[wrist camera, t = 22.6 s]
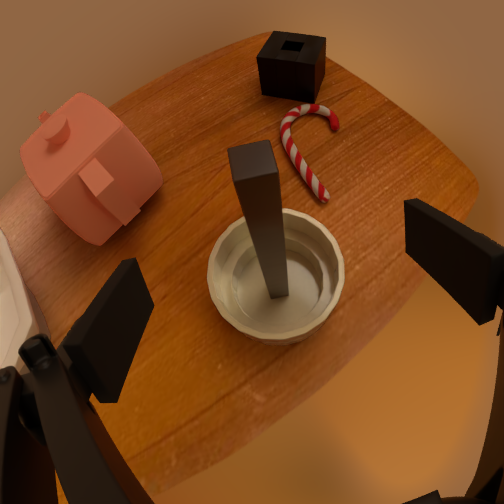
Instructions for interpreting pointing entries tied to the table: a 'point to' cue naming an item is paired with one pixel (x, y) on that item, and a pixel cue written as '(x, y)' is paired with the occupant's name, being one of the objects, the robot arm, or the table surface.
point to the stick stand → (292, 66)
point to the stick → (262, 209)
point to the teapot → (89, 168)
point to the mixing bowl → (299, 281)
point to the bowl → (16, 310)
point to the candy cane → (295, 154)
